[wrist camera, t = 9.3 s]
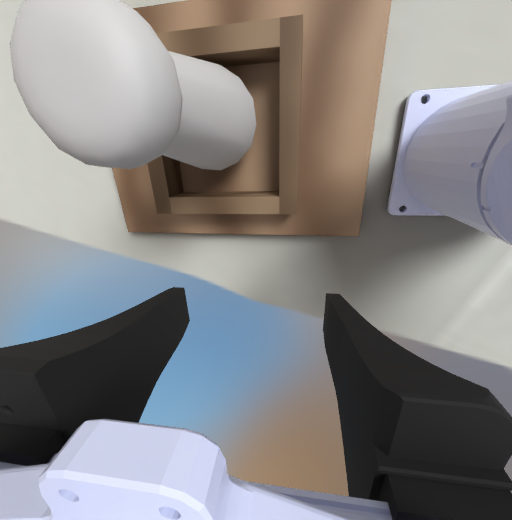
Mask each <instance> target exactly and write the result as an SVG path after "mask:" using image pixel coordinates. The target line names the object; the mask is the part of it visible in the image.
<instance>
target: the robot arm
mask: <svg viewBox="0 0 512 520" xmlns="http://www.w3.org/2000/svg"><path fill="white" fill-rule="evenodd" d="M423 95H425V96H426V97H427V102H426V103H425V104H422V102H421V98H422V96H423ZM403 205H404V206H405V209H404V210H403V211H399V208H400V207H401V206H403ZM387 211H388V213H390V214H391V215H415V216H449V217H451V218H453V219H456V220H458V221H460V222H462V223H464V224H467V225H469V226H471V227H473V228H475V229H478V230H480V231H482V232H484V233H486V234H488V235H491V236H493V237H495V238H497V239H499V240H502V241H504V242H506V243H508V244H510V245H512V81H510V82H506V83H503V84H500V85H486V86H473V87H459V88H445V89H431V90H418V91H415V92H413V93H411V94H410V95H409V96H408V98H407V101H406V106H405V111H404V117H403V122H402V128H401V134H400V139H399V145H398V150H397V156H396V162H395V167H394V173H393V179H392V184H391V190H390V195H389V201H388V207H387ZM189 321H190V320H189V314H188V308H187V302H186V296H185V290H184V288H175V287H173V288H171V289H168V290H166V291H164V292H162V293H160V294H158V295H156V296H154V297H152V298H151V299H148V300H146V301H145V302H143V303H141V304H139V305H137V306H135V307H133V308H131V309H128V310H126V311H124V312H122V313H120V314H118V315H116V316H113V317H111V318H109V319H106V320H104V321H101V322H98V323H96V324H93V325H90V326H87V327H84V328H81V329H78V330H75V331H72V332H69V333H65V334H61V335H58V336H54V337H50V338H46V339H42V340H38V341H34V342H29V343H24V344H19V345H14V346H9V347H4V348H0V520H512V493H511V492H510V491H512V481H511V479H510V478H509V476H508V475H507V473H506V472H505V470H504V467H505V465H506V464H507V462H508V460H509V458H510V457H511V455H512V417H511V416H510V414H509V413H508V412H507V411H506V410H505V408H504V407H503V406H502V405H501V404H500V403H499V401H498V400H497V399H496V398H495V396H494V395H493V394H492V393H491V392H490V391H489V390H488V389H487V388H484V387H482V386H480V385H477V384H475V383H472V382H470V381H468V380H465V379H463V378H461V377H458V376H456V375H453V374H451V373H449V372H447V371H445V370H443V369H441V368H439V367H437V366H435V365H433V364H431V363H429V362H427V361H425V360H424V359H422V358H420V357H418V356H416V355H415V354H413V353H411V352H410V351H408V350H406V349H404V348H403V347H401V346H400V345H398V344H397V343H395V342H394V341H392V340H391V339H389V338H388V337H387V336H385V335H384V334H382V333H381V332H380V331H379V330H377V329H376V328H375V327H374V326H372V325H371V324H370V323H369V322H368V321H367V320H365V319H364V318H363V317H362V316H361V315H360V314H359V313H358V312H357V311H356V310H355V309H354V308H353V307H352V306H351V305H350V304H349V303H348V302H347V301H346V300H345V299H344V298H343V297H342V296H341V295H340V294H326V302H325V313H324V324H323V332H324V341H325V348H326V353H327V357H328V361H329V365H330V369H331V373H332V378H333V382H334V386H335V390H336V395H337V400H338V408H339V415H340V422H341V431H342V438H343V445H344V455H345V464H346V472H347V481H348V491H349V497H348V496H341V495H334V494H327V493H321V492H315V491H307V490H301V489H294V488H287V487H281V486H274V485H267V484H260V483H254V482H247V481H244V480H241V479H238V478H236V477H233V476H230V475H228V474H227V466H226V460H225V458H224V456H223V454H222V452H221V451H220V449H219V447H218V445H217V444H216V443H215V442H213V441H212V440H211V439H209V438H207V437H206V436H205V435H204V434H201V433H198V432H195V431H191V430H188V429H184V428H176V427H168V426H160V425H151V424H143V423H138V422H139V420H140V417H141V415H142V413H143V410H144V408H145V406H146V404H147V401H148V399H149V397H150V395H151V393H152V391H153V388H154V386H155V384H156V382H157V380H158V378H159V376H160V375H161V373H162V371H163V369H164V368H165V366H166V365H167V363H168V361H169V359H170V358H171V356H172V354H173V353H174V351H175V350H176V348H177V346H178V344H179V343H180V341H181V339H182V337H183V335H184V333H185V331H186V328H187V326H188V323H189Z"/></svg>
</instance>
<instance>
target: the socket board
mask: <svg viewBox="0 0 512 520" xmlns="http://www.w3.org/2000/svg"><path fill="white" fill-rule="evenodd" d="M391 1H392V0H187V1H180V2H173V3H167V4H160V5H153V6H147V7H140V8H133V9H134V10H135V11H137V12H138V13H139V14H140V15H141V16H142V17H143V18H144V19H145V20H146V21H147V22H148V23H149V24H150V26H151V27H152V29H153V30H154V32H155V33H156V34H157V36H158V37H159V39H160V40H161V42H162V43H163V45H164V46H165V48H166V49H167V51H170V52H174V53H178V54H182V55H185V56H189V57H193V58H196V59H200V60H204V61H208V62H211V63H215V64H219V65H221V66H223V67H224V68H226V69H227V70H229V71H230V72H232V73H233V74H235V75H236V76H238V77H239V78H240V79H241V81H242V82H243V84H244V85H245V87H246V88H247V90H248V91H249V93H250V95H251V96H252V98H253V102H254V109H255V117H256V128H255V133H254V137H253V141H252V146H251V147H250V148H249V149H248V151H247V152H246V153H245V154H244V156H243V157H242V158H241V159H240V161H239V162H238V163H236V164H234V165H231V166H229V167H227V168H225V169H223V170H209V169H201V168H198V167H195V166H192V165H190V164H187V163H184V162H181V161H178V160H175V159H172V158H170V157H167V156H164V155H162V156H160V157H158V158H156V159H154V160H152V161H150V162H149V163H147V164H145V165H143V166H141V167H137V168H132V169H122V168H112V169H113V173H114V177H115V181H116V185H117V189H118V193H119V197H120V201H121V205H122V209H123V213H124V217H125V221H126V225H127V229H128V232H157V233H211V234H265V235H320V236H359V232H360V225H361V218H362V210H363V203H364V196H365V189H366V181H367V174H368V167H369V160H370V152H371V145H372V138H373V131H374V124H375V116H376V109H377V102H378V95H379V87H380V80H381V73H382V66H383V59H384V51H385V44H386V37H387V30H388V22H389V15H390V8H391Z"/></svg>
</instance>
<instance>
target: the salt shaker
mask: <svg viewBox="0 0 512 520" xmlns="http://www.w3.org/2000/svg"><path fill="white" fill-rule="evenodd" d="M10 51H11V59H12V67H13V75H14V81H15V83H16V85H17V88H18V90H19V92H20V94H21V96H22V98H23V101H24V103H25V105H26V107H27V109H28V111H29V114H30V115H31V116H32V118H33V119H34V120H35V121H36V123H37V124H38V125H39V126H40V127H41V129H42V130H43V131H44V132H45V133H46V134H47V136H48V137H49V138H50V139H51V140H52V142H53V143H54V144H55V145H56V146H57V147H58V149H60V150H62V151H64V152H65V153H67V154H69V155H71V156H73V157H74V158H76V159H78V160H80V161H81V162H83V163H85V164H88V165H94V166H100V167H111V168H122V169H132V168H137V167H141V166H143V165H145V164H147V163H149V162H150V161H152V160H154V159H156V158H158V157H160V156H162V155H164V156H167V157H170V158H172V159H175V160H178V161H181V162H184V163H187V164H190V165H192V166H195V167H198V168H201V169H209V170H223V169H225V168H227V167H229V166H231V165H234V164H236V163H238V162H239V161H240V159H241V158H242V157H243V156H244V154H245V153H246V152H247V151H248V149H249V148H250V147H251V146H252V141H253V137H254V133H255V128H256V117H255V109H254V102H253V98H252V96H251V95H250V93H249V91H248V90H247V88H246V87H245V85H244V84H243V82H242V81H241V79H240V78H239V77H238V76H236V75H235V74H233V73H232V72H230V71H229V70H227V69H226V68H224V67H223V66H221V65H219V64H215V63H211V62H208V61H204V60H200V59H196V58H193V57H189V56H185V55H182V54H178V53H174V52H170V51H167V49H166V48H165V46H164V45H163V43H162V42H161V40H160V39H159V37H158V36H157V34H156V33H155V32H154V30H153V29H152V27H151V26H150V24H149V23H148V22H147V21H146V20H145V19H144V18H143V17H142V16H141V15H140V14H139V13H138V12H137V11H135V10H134V9H132V8H131V7H129V6H128V5H126V4H125V3H123V2H121V1H120V0H25V1H24V2H23V3H22V4H21V6H20V8H19V10H18V11H17V16H16V20H15V24H14V28H13V32H12V37H11V41H10Z"/></svg>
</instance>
